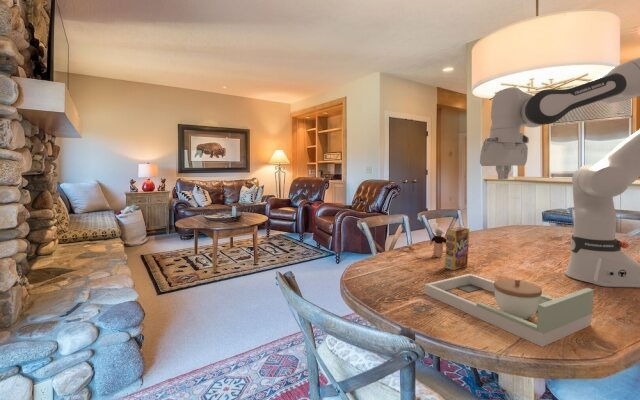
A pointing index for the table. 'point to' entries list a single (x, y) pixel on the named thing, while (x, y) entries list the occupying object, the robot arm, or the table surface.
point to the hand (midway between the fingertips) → (502, 179)
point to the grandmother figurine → (438, 243)
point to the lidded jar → (517, 297)
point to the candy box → (457, 248)
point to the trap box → (476, 283)
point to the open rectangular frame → (554, 311)
